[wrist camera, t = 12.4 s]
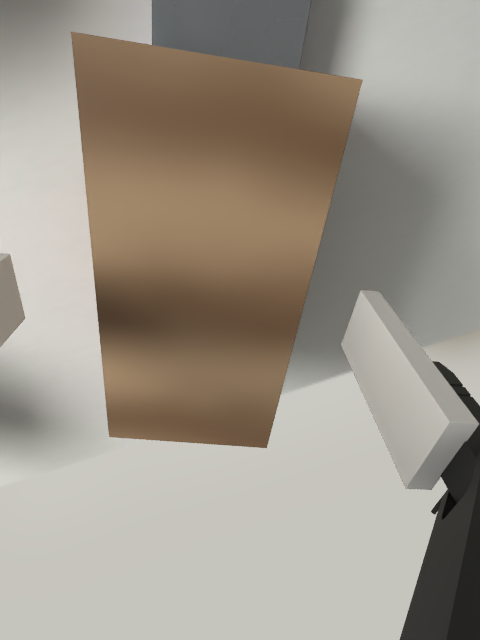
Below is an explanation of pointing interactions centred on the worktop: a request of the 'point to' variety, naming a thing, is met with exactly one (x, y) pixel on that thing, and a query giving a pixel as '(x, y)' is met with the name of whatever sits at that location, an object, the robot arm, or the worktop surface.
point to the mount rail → (234, 28)
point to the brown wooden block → (202, 229)
